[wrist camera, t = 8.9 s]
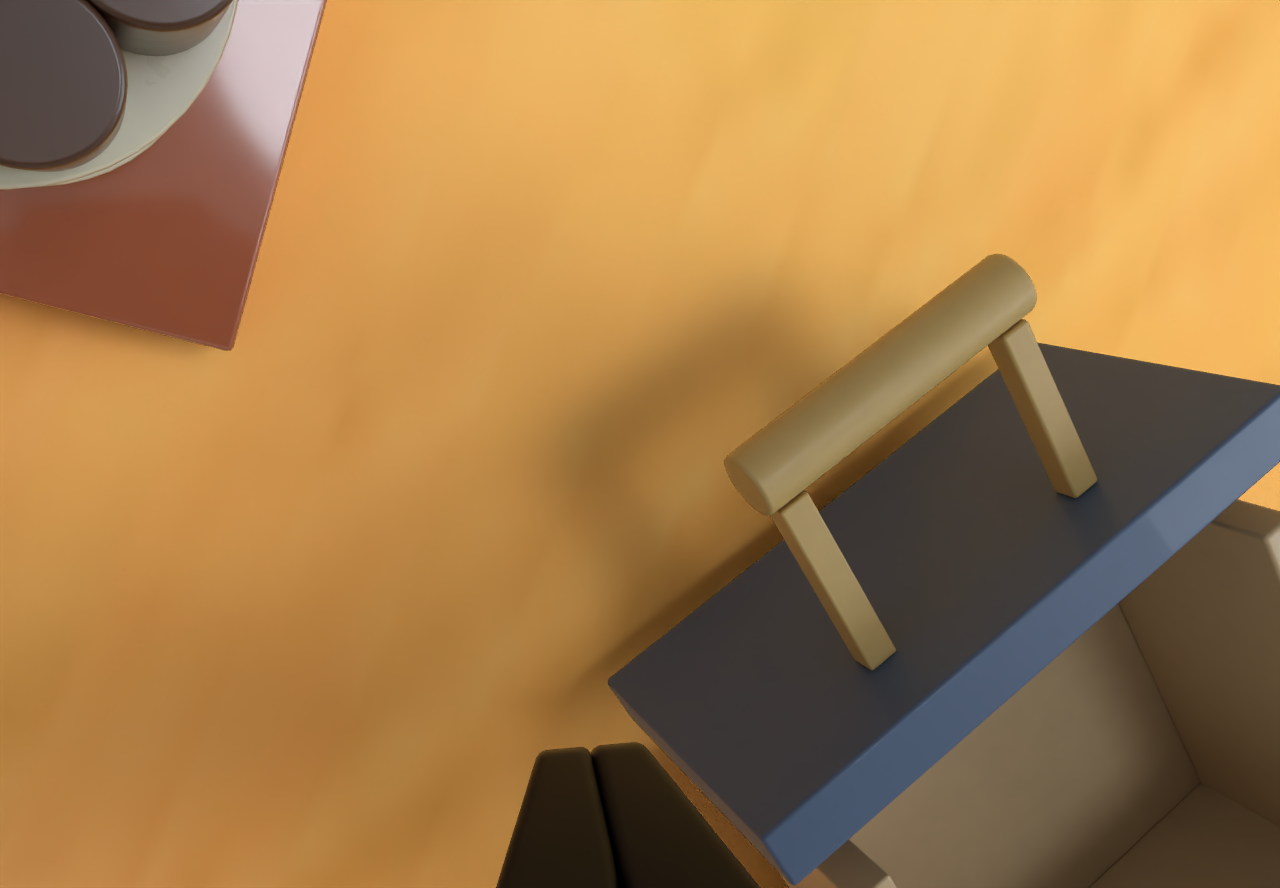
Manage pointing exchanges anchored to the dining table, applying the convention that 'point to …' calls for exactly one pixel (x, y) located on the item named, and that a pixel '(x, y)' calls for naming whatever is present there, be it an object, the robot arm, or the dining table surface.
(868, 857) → the drawer
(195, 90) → the bundle
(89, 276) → the stand
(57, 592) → the dining table surface
